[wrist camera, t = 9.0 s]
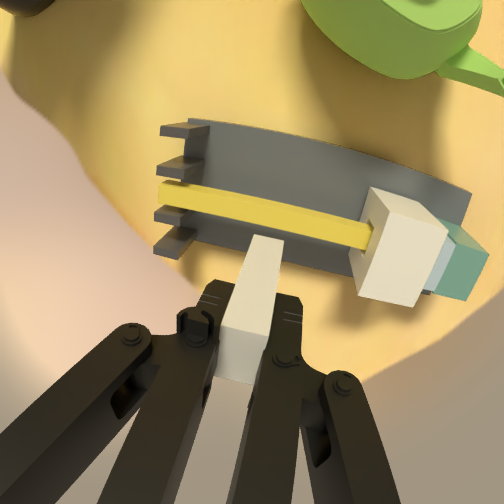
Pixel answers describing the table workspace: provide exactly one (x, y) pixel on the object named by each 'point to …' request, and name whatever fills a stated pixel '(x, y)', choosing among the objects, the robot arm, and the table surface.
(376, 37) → the teapot
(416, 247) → the sleeve
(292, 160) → the cable comb board
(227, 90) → the table surface
